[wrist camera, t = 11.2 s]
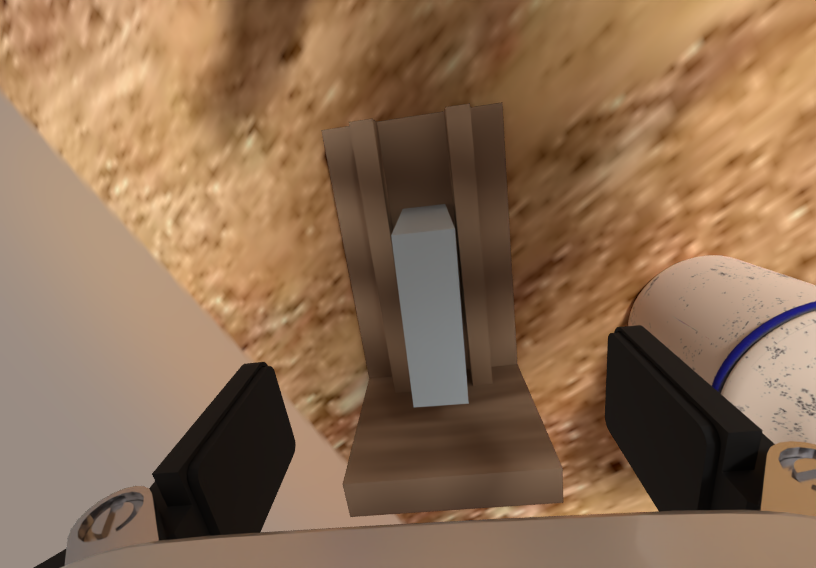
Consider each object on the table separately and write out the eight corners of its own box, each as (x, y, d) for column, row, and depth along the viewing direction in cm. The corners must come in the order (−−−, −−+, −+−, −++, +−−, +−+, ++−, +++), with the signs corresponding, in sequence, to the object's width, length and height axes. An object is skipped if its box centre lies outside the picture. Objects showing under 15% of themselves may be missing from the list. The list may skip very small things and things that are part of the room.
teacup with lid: (644, 397, 27) (792, 562, 16) (602, 287, 25) (743, 393, 14) (829, 329, 25) (1146, 466, 14) (803, 202, 23) (1160, 247, 12)
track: (326, 131, 23) (253, 114, 13) (499, 104, 22) (555, 66, 12) (375, 394, 28) (350, 516, 19) (515, 382, 27) (563, 502, 18)
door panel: (402, 208, 23) (391, 235, 15) (445, 203, 23) (454, 228, 15) (417, 331, 25) (413, 407, 18) (455, 328, 25) (468, 403, 18)
